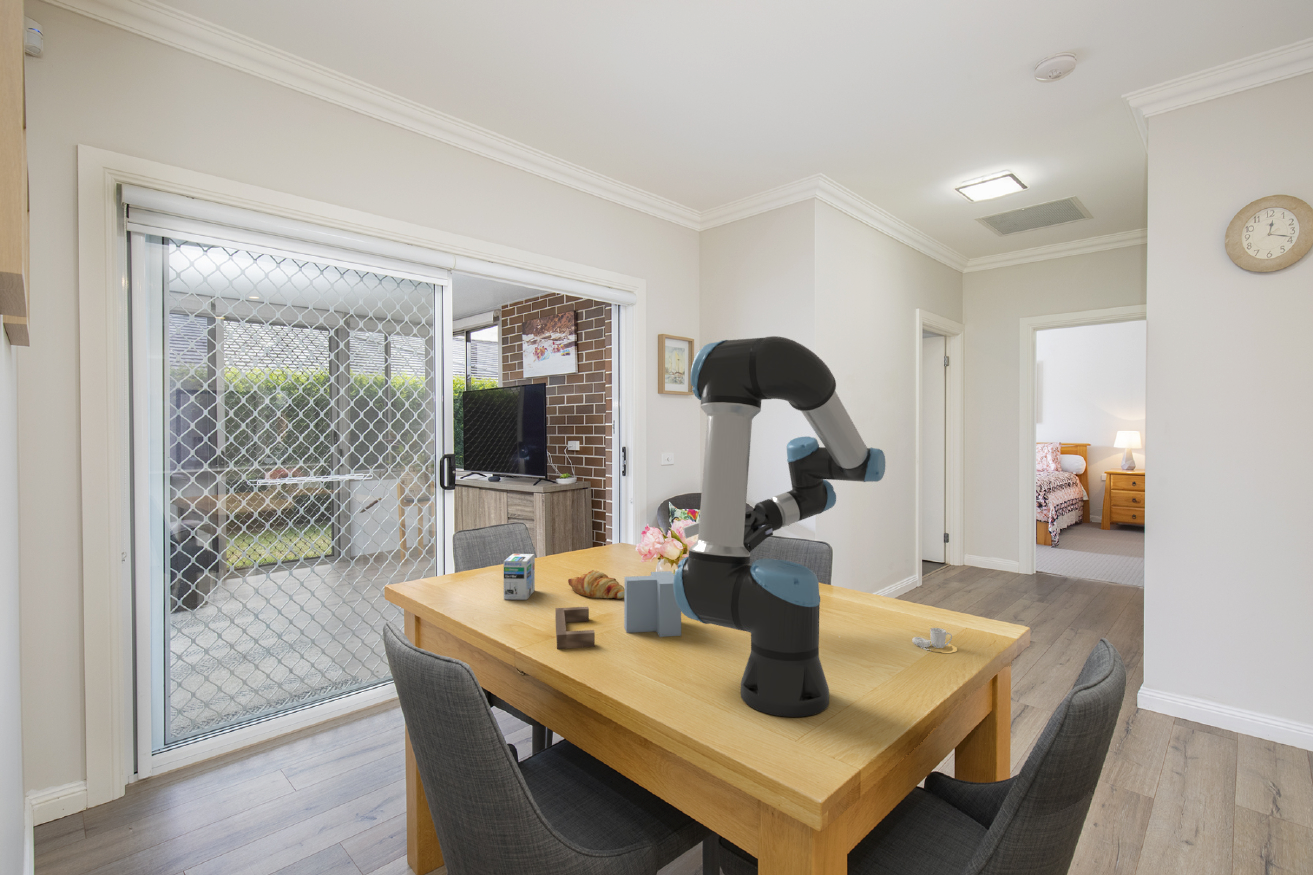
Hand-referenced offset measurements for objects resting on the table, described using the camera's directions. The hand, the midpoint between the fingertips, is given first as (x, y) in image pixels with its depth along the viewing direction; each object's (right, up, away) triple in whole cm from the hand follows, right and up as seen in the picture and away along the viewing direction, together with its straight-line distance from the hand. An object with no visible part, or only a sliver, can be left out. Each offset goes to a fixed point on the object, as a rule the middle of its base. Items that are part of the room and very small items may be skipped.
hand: (696, 543), depth 142 cm
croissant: (-26, -21, +34) cm, 47 cm away
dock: (-28, -21, +1) cm, 35 cm away
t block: (-10, -21, +4) cm, 24 cm away
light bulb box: (-48, -20, +33) cm, 61 cm away
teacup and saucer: (+51, -22, -5) cm, 56 cm away
